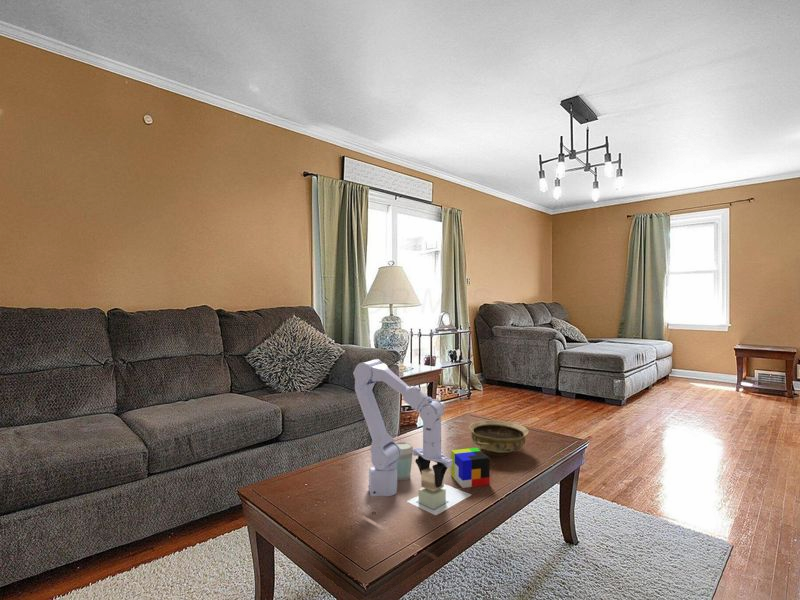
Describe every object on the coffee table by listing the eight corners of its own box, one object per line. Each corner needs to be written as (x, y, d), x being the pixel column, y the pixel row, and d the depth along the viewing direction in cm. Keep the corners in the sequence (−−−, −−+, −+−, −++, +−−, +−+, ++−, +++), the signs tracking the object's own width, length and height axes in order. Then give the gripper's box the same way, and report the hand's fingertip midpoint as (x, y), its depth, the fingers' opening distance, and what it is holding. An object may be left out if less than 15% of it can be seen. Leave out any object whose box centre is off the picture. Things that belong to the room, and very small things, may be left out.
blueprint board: (435, 518, 126) (435, 515, 126) (406, 503, 134) (406, 501, 134) (471, 497, 138) (471, 494, 138) (442, 485, 147) (442, 482, 147)
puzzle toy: (462, 490, 143) (462, 460, 143) (451, 478, 153) (451, 450, 153) (489, 486, 146) (489, 457, 146) (476, 474, 156) (476, 447, 156)
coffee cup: (416, 475, 155) (416, 442, 155) (410, 485, 147) (410, 450, 147) (393, 472, 158) (393, 440, 157) (386, 482, 149) (386, 448, 149)
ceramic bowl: (508, 471, 158) (508, 444, 158) (453, 455, 174) (453, 431, 174) (540, 449, 181) (540, 425, 181) (490, 436, 197) (490, 415, 197)
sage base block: (433, 508, 129) (433, 495, 129) (418, 502, 134) (418, 489, 134) (445, 501, 134) (445, 489, 134) (431, 495, 138) (431, 483, 138)
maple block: (433, 491, 130) (433, 475, 130) (421, 486, 134) (421, 470, 134) (443, 486, 134) (444, 470, 134) (431, 481, 137) (431, 466, 137)
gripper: (458, 442, 131) (458, 486, 131) (423, 432, 141) (423, 472, 142) (444, 448, 126) (444, 494, 126) (408, 437, 136) (408, 479, 137)
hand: (432, 483), depth 134 cm, fingers closed on maple block, 5 cm apart
